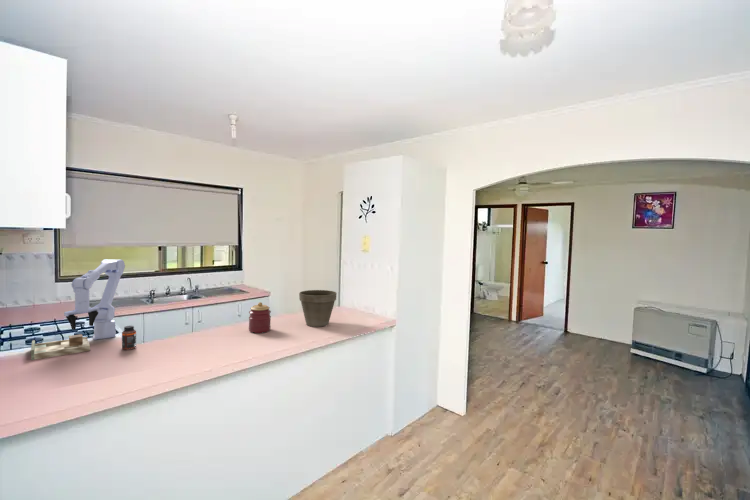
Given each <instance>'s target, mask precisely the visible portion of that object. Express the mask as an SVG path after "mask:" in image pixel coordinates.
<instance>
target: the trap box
mask: <svg viewBox="0 0 750 500" xmlns="http://www.w3.org/2000/svg"><path fill="white" fill-rule="evenodd" d="M30 347H31V348H30V356H31V357H30V361H33V360H34V361H35V360H40V359H45V358H46V359H47V358H53V357H58V356H59V357H60V356H65V355H70V354H71V355H72V354H77V353H78V354H79V353H84V352H90V351H91V345H90V342H89V339H88V336H86V337H85V336H83V344H82V345H75V346H69V338H67V339H63V340H54V341H48V342H39V343H36V340H35V339H32V341H31V346H30Z"/></svg>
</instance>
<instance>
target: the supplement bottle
mask: <svg viewBox="0 0 750 500" xmlns="http://www.w3.org/2000/svg"><path fill="white" fill-rule="evenodd" d="M123 328H124V329H123V330H122V332H121V347H122V348H121V349H122V350H124V351H129V350H134V349H135V347H136V348H137V330H136V329H135V326H134V325H127V326H124V327H123ZM135 345H136V346H135Z"/></svg>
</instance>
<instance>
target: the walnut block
mask: <svg viewBox="0 0 750 500" xmlns="http://www.w3.org/2000/svg"><path fill="white" fill-rule="evenodd" d="M83 337H84V336H83V334H82V333H80V334H73V335H69V336H68V339H69V346H75V345H82V344H83Z"/></svg>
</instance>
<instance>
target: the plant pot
mask: <svg viewBox="0 0 750 500" xmlns="http://www.w3.org/2000/svg"><path fill="white" fill-rule="evenodd" d="M298 294H299V301H300V303H301V308H302V312H303V316H304V317H303V318H304V320H305V325H307V326H309V327H312V328H313V327H315V328H318V327H326V326H328V325H329V323H330V320H331V319H330V318H331V316H332V312H333V309H334V306H335V305H334V304H335V302H336V300H337V292H336V291H334V290H327V289H326V290H325V289H311V290H310V289H309V290H303V291H300V292H299V293H298Z"/></svg>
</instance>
